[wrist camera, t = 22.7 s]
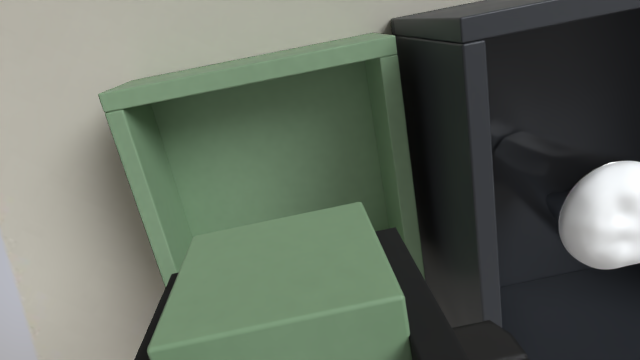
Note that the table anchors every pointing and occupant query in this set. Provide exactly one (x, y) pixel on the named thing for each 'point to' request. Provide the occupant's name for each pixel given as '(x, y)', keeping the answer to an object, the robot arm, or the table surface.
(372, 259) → the green block
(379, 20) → the table surface
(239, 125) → the green bin
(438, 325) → the robot arm
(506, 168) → the milkshake
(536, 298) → the dark bin
